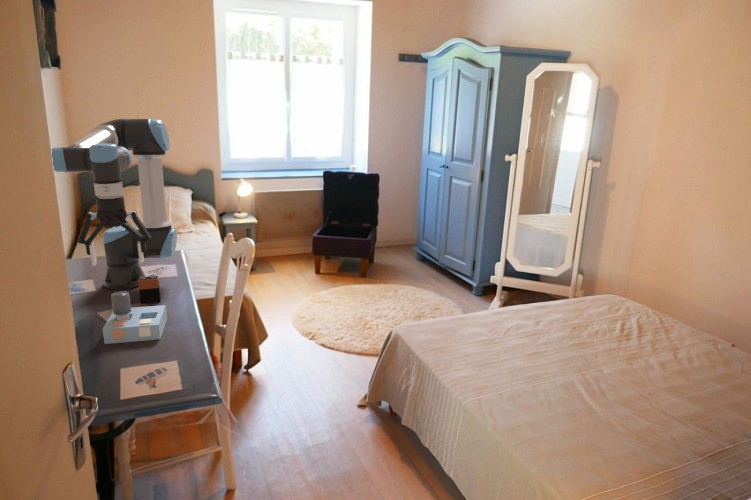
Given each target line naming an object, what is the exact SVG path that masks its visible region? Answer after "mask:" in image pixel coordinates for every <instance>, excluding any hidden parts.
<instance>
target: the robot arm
mask: <svg viewBox="0 0 751 500" xmlns="http://www.w3.org/2000/svg"><path fill="white" fill-rule="evenodd" d="M169 137H170V136H169V134H168V130H167V127H166V125H165V123H164V122H163V121H162V120H160V119H155V118H154V119H153V118H152V119H151V118H115V119H112V120H108V121H106V122H104V123H101V124H99V125H97V126H95V127H93V128H92V129H91V131H90V133H89V134H87V135H86V136H84V137H82V138H81V139H79V140H78V141H75V142H74V143H72V144H71V145H69V146H65V147H63V146H60V147H53V148H51V149H50V150H52V158H53V166H54V170H53V171H54V172H57V173H60V172H61V173H66V174H67V173H91V174H92V179H93V187H94V188H93V189H94V194H95V195H94V196H96V198H95V201H96V209H97V212H92V211H89V212H87V213H86V215H85V216H86V217H85V223H84V225H83V227H82V230H81V233H80V234H79V238H78V240H77V242H78V244H82V245H85V250H86V254H87V256H90V260H91V261H90V262H91V266H92V267H95V266H96V265H97V264H98V260H97V253H96V246H95V242H93V241H94V240H95V238H96V237H97V235H99V233H100V232H101V231H102V229H103V228H104V227H107V228H108V229H106V230H105V231H104V232H103V234H102V239H103V243H102V244H103V248H104V249H103V250H104V254H105V262H106V270H105V275H104V278H103V283H104V287H105V288H106V289H107V290H108V289H109V290H116V291H118V290H119V291H120V290H128V289H134V288H137V287H139V286H138V279H139V277H141V276H145V277H146V275H145V273H144V271H143V268H142V267H141V265H140V264H143V263H144V261H145V259H158V258H159V259H163V258H165V259H166V258H171V257H173V256H174V254H175V251H176V248H177V240H178V234H177V229H176V228H173V227H172V223H171V222H170V221H169V220H168V219H167V209H166V207H167V206H166V197H165V196H166V194H165V186H164V185H165V184H164V182H165V181H164V172H163V171H164V169H163V158H164V157H165V156H166V152H167V151H169V150H170V138H169ZM130 151H132V154H131V152H130ZM133 157H134V158H135V159H137V160H136V161H137V169H138V178H139V179H138V180H139V188H140V190H139V191H140V199H141V200H140V201H141V209H142V211H141V212H142V220H143V221H141V219H140V218H139V216H138V215H139V214H138V211H137V210H133V211H127V210H126V205H125V197H124V196H123V195H124V189H123V187H124V186H123V181H122V172H124V171H126V170H128V168H129V167H130V166H131V165H132V162H133ZM128 217H129V219H131V220H132V221H133V223H134V224H135V225H134V224H133V225H132V224H130V222H129V221H127V218H128ZM96 218H97V220H98V221H100V223H99V224H98V225H97V227H96V228H95V229H94V231H93V232H92V233H91V234H90V235H89V237H88V238H87V236H88V232H89V231H90V228H91V226H92V223H93V221H94V220H95V219H96ZM135 226H136V227H137V229H136V227H135Z"/></svg>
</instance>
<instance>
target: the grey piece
mask: <svg viewBox="0 0 751 500" xmlns="http://www.w3.org/2000/svg"><path fill="white" fill-rule="evenodd" d="M130 297H131V296H130V292H129V291H127V290H119V291H116V292H112V293H111V294H110V299H111V306H112V312H113V314H115V315H116V316H117V321H123V320H130V318H129V313H130V312H131V308H132V304H131V298H130Z"/></svg>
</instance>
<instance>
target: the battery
mask: <svg viewBox="0 0 751 500" xmlns="http://www.w3.org/2000/svg"><path fill="white" fill-rule="evenodd" d="M159 279H160V278H159V276H158V275H156V274H149V275H148V276H146V275H145V276H141V277H139V279H138V286H137V287H138V292H139V293H138V294H139V302H140V304H143V305H144V304H153V303H160V302H161V298H162V297H161V288H160V287H161V286H160V280H159Z"/></svg>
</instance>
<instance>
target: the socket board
mask: <svg viewBox="0 0 751 500" xmlns="http://www.w3.org/2000/svg"><path fill="white" fill-rule="evenodd" d="M129 318H130V320H123V321H117V316H116V315H115V314H113V311H112V312H111V314H110V316H109V318H108V320H107V321H106V322H105V324H104V326H103V328H102V337H103V342H104V345H108V344H109V345H110V344H120V343H133V342H143V341H146V342H147V341H155V340H161V338H162V335H163V332H164V330H165V326H166V324H167V320H168V314H167V305H166V304H165V305H153V306H151V305H150V306H136V307H131V312H130V313H129Z"/></svg>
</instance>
